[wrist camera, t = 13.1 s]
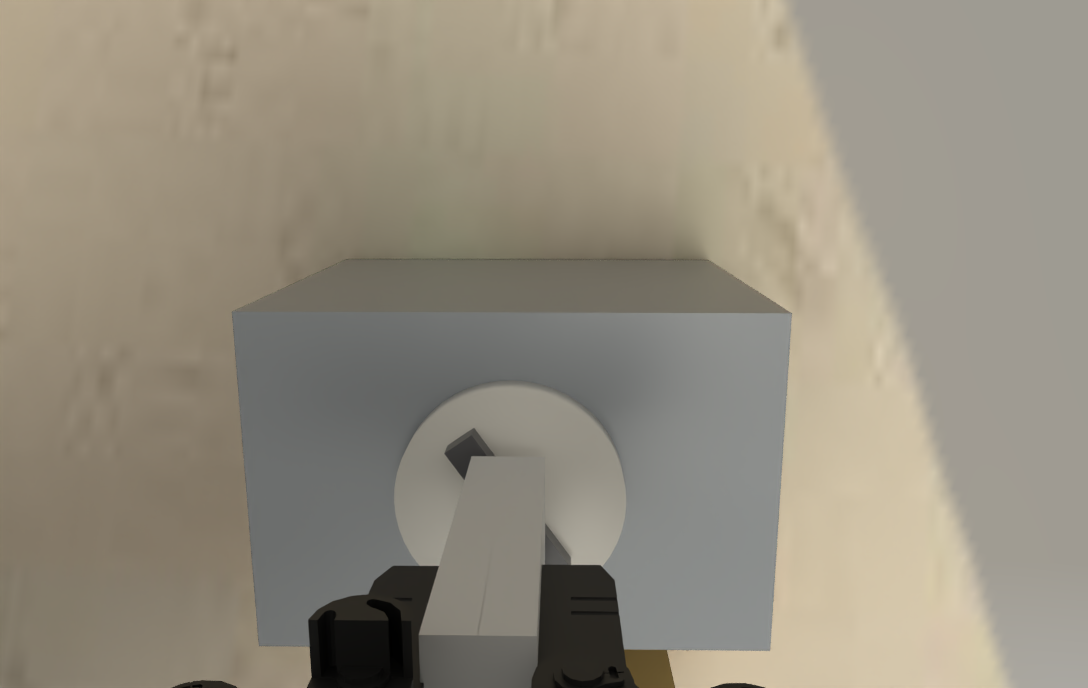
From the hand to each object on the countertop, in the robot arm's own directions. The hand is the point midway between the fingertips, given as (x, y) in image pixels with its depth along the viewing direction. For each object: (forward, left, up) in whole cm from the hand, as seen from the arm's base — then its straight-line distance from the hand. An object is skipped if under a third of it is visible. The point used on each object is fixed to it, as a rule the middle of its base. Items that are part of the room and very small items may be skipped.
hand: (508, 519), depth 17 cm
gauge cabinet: (0, 0, -12) cm, 12 cm away
